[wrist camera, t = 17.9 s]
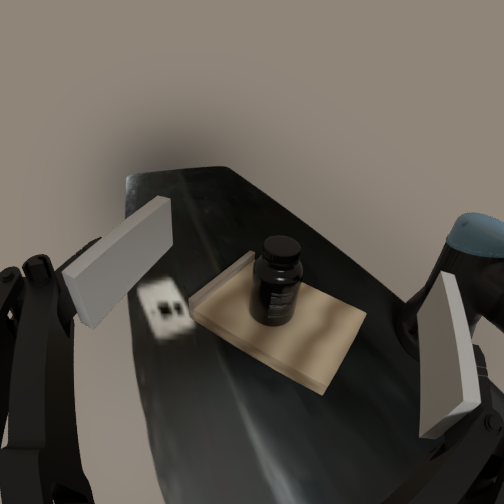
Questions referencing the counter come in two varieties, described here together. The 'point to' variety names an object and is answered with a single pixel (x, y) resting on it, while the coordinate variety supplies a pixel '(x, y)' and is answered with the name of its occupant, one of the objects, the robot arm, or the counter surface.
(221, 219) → the counter surface
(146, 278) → the counter surface
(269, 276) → the supplement bottle
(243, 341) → the shelf board
